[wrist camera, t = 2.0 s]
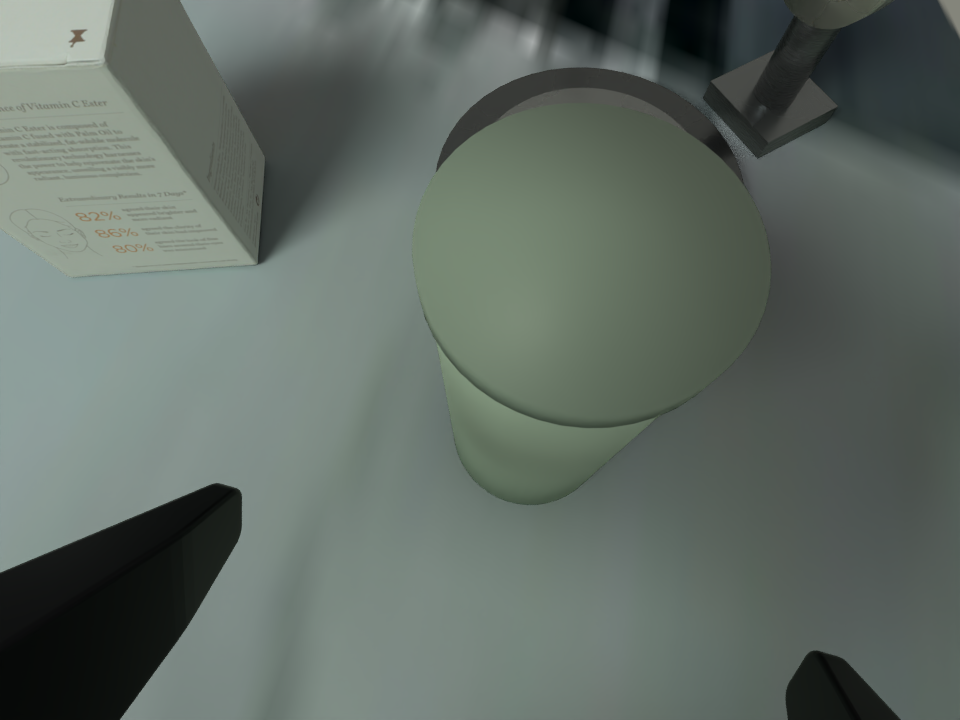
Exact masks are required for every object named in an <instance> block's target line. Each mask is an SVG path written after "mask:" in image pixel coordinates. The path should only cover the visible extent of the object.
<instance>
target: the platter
mask: <svg viewBox="0 0 960 720" xmlns="http://www.w3.org/2000/svg"><path fill="white" fill-rule="evenodd" d="M564 103H594V104H606V105H612V106H617V107H623V108H628V109H632V110H635V111H638V112H642V113H645V114H649V115H651V116H654V117H656V118H659V119H661V120H663V121H666V122H668V123H670V124H672V125H674V126H676V127H678V128H680V129H681V130H683V131H685V132H687V133H689V134H690V135H692V136H693V137H694V138H696V139H697V140H699V141H700V142H702V143H703V144H705V145H706V146H707V147H708V148H709V149H711V150H712V151H713V152H714V153H715V154H716V155H718V156H719V157H720V158H721V159H722V160H723V161H724V162H725V163H726V164H727V165H728V166H729V168H730V169H731V170H732V171H733V172H734V173H735V174H736V175H737V177H738V178H739V180H740V181H741V182H742V184H743V179H742V175H741V172H740V169H739V166H738V164H737V161H736V159H735V157H734V155H733V153H732V151H731V149H730V147H729V146H728V144H727V142H726V141H725V139H724V138H723V137H722V135H721V134H720V132H719V131H718V130H717V128H716V127H715V126H714V125H713V124H712V123H711V122H710V121H709V120H708V119H707V118H706V117H705V116H704V115H703V114H702V113H701V112H700V111H699V110H697V109H696V108H695V107H694V106H693V105H691V104H690V103H689V102H687V101H686V100H684V99H683V98H681V97H680V96H678V95H677V94H675V93H674V92H672V91H670V90H668V89H666V88H664V87H662V86H660V85H658V84H656V83H653V82H651V81H648V80H646V79H643V78H641V77H637V76H634V75H630V74H627V73H623V72H618V71H612V70H607V69H598V68H562V69H554V70H547V71H543V72H539V73H534V74H530V75H527V76H525V77H522V78H519V79H516V80H513V81H511V82H509V83H507V84H505V85H503V86H501V87H499V88H497V89H496V90H494V91H492V92H491V93H489V94H488V95H486V96H484V97H483V98H482V99H481V100H480V101H478V102H477V103H476V104H475V105H473V106H472V107H471V108H470V109H469V110H468V111H467V112H466V113H465V114H464V116H463V117H462V118H461V119H460V120H459V121H458V123H457V124H456V126H455V127H454V128H453V130H452V131H451V133H450V134H449V136H448V138H447V140H446V142H445V144H444V146H443V148H442V151H441V155H440V158H439V161H438V164H437V170H436V172H437V171H438V169H439V168H440V166H441V165H442V164H443V163H444V161H445V160H446V159H447V158H448V157H449V156H450V155H451V154H452V153H453V152H454V151H455V149H457V148H458V147H459V146H460V145H461V144H463V143H464V142H465V141H466V140H467V139H469V138H470V137H471V136H473V135H474V134H476V133H477V132H479V131H480V130H482V129H484V128H485V127H487V126H489V125H491V124H493V123H495V122H497V121H499V120H501V119H503V118H505V117H508V116H510V115H513V114H516V113H519V112H522V111H525V110H529V109H533V108H537V107H542V106H547V105H555V104H564ZM743 185H744V184H743Z"/></svg>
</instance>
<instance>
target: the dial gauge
mask: <svg viewBox="0 0 960 720" xmlns="http://www.w3.org/2000/svg"><path fill="white" fill-rule="evenodd" d="M893 1H894V0H784V2H785V4H786V5H787V7H788V8H789V10H790V11H791V12H792V13H793V14H794V17H793V19H792V21H791V23H790V24H789V26H788V28H787V30H786V31H785V33H784V35H783V37H782V39H781V40H780V42H779V44H778V46H777V47H776V49H775V50H774V51H772V52H770V53H768V54H766V55H764V56H762V57H759V58H757V59H755V60H753V61H751V62H749V63H747V64H745V65H743V66H741V67H739V68H737V69H735V70H733V71H731V72H729V73H727V74H724V75H722V76H720V77H718V78H716V79H714V80H712V81H711V82H710V84H709V86H708V88H707V90H706V93H705V95H704V97H703V99H704V100H705V101H706V102H707V103H708V104H709V105H710V106H711V107H712V109H713V110H714V111H715V112H716V113H717V114H718V115H719V116H720V117H721V118H722V120H723V121H724V122H725V123H726V124H727V125H728V126H729V127H730V128H731V129H732V131H733V132H734V133H735V134H736V135H737V136H738V137H739V138H740V139H741V140H742V141H743V143H744V144H745V145H746V146H747V147H748V148H749V149H750V150H751V151H752V152H753V154H754V155H755V156H756V157H757V158H759V157H761V156H763V155H765V154H767V153H769V152H771V151H773V150H775V149H776V148H778V147H780V146H782V145H784V144H786V143H788V142H790V141H792V140H794V139H796V138H797V137H799V136H801V135H803V134H805V133H807V132H809V131H811V130H813V129H815V128H817V127H818V126H820V125H822V124H824V123H826V122H827V120H828V119H829V118H830V116H831V115H832V114H833V112H834V111H835V110H836V108H837V107H838V106H837V105H836V104H835V103H834V102H833V101H832V100H831V99H830V98H829V97H828V96H827V95H826V94H825V93H824V92H823V91H822V90H821V89H820V88H819V87H818V86H817V85H816V84H815V83H814V82H813V81H812V80H811V79H810V78H809V77H810V75H811V74H812V72H813V71H814V69H815V68H816V66H817V65H818V63H819V62H820V60H821V59H822V57H823V56H824V54H825V53H826V51H827V50H828V48H829V47H830V45H831V44H832V42H833V40H834V39H835V37H836V36H837V34H838V33H839V31H840V30H841V28H842V27H845V26H847V25H850V24H852V23H854V22H856V21H858V20H860V19H862V18H864V17H866V16H869V15H871V14H873V13H875V12H877V11H879V10H881V9H882V8H884V7H886V6H887V5H889V4H890V3H891V2H893Z"/></svg>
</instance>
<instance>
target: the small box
mask: <svg viewBox="0 0 960 720" xmlns="http://www.w3.org/2000/svg"><path fill="white" fill-rule="evenodd" d="M264 168H265V157H264V155H263V153H262V151H261V149H260V147H259V146H258V144H257V142H256V140H255V138H254V136H253V134H252V133H251V131H250V129H249V127H248V125H247V123H246V121H245V120H244V118H243V116H242V114H241V112H240V110H239V109H238V107H237V105H236V103H235V101H234V100H233V98H232V96H231V94H230V92H229V90H228V88H227V87H226V85H225V83H224V81H223V79H222V77H221V76H220V74H219V72H218V70H217V68H216V66H215V65H214V63H213V61H212V59H211V57H210V55H209V54H208V52H207V50H206V48H205V46H204V45H203V43H202V41H201V39H200V37H199V35H198V34H197V32H196V30H195V28H194V26H193V24H192V23H191V21H190V19H189V17H188V15H187V13H186V11H185V10H184V8H183V6H182V4H181V2H180V0H0V229H1V230H3V231H4V232H5V233H7V234H8V235H10V236H11V237H12V238H14V239H15V240H17V241H18V242H20V243H21V244H22V245H24V246H25V247H27V248H28V249H30V250H31V251H33V252H34V253H35V254H37V255H38V256H40V257H41V258H43V259H44V260H45V261H47V262H48V263H50V264H51V265H52V266H54V267H55V268H57V269H58V270H60V271H61V272H63V273H64V274H65V275H66V276H68V277H83V276H97V275H112V274H126V273H141V272H155V271H170V270H187V269H200V268H214V267H228V266H243V265H256V264H258V251H259V237H260V224H261V210H262V196H263V182H264Z"/></svg>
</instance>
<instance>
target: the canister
mask: <svg viewBox="0 0 960 720" xmlns="http://www.w3.org/2000/svg"><path fill="white" fill-rule="evenodd" d="M412 258H413V265H414V273H415V279H416V284H417V288H418V293H419V298H420V302H421V305H422V309H423V312H424V316H425V319H426V321H427V323H428V325H429V328H430V330H431V332H432V334H433V337H434V338H435V340H436V342H437V348H438V353H439V359H440V364H441V369H442V375H443V380H444V386H445V391H446V396H447V402H448V407H449V413H450V418H451V424H452V429H453V434H454V440H455V445H456V449H457V452H458V455H459V457H460V460H461V462H462V464H463V466H464V467H465V469H466V471H467V472H468V473H469V475H470V476H471V477H472V478H473V480H474V481H475V482H476V483H478V484H479V485H480V486H481V487H482V488H483V489H485V490H486V491H487V492H489V493H491V494H492V495H494V496H496V497H498V498H500V499H503V500H505V501H508V502H512V503H516V504H525V505H538V504H544V503H549V502H552V501H556V500H558V499H561V498H563V497H565V496H567V495H568V494H570V493H572V492H573V491H575V490H576V489H577V488H578V487H579V486H581V485H582V484H583V483H584V482H585V481H586V480H587V479H588V478H590V477H591V476H592V475H593V474H594V473H595V472H596V471H597V470H599V469H600V468H601V467H602V466H603V465H604V464H605V463H607V462H608V461H609V460H610V459H611V458H612V457H613V456H614V455H616V454H617V453H618V452H619V451H620V450H621V449H622V448H623V447H625V446H626V445H627V444H628V443H629V442H630V441H631V440H632V439H634V438H635V437H636V436H637V435H638V434H639V433H640V432H641V431H643V430H644V429H645V428H646V427H647V426H648V425H649V424H651V423H652V422H653V421H654V420H655V419H656V418H657V417H658V416H660V415H662V414H664V413H667V412H669V411H671V410H673V409H676V408H677V407H679V406H680V405H682V404H684V403H685V402H687V401H688V400H690V399H691V398H693V397H695V396H696V395H697V394H698V393H699V392H701V391H702V390H703V389H704V388H706V387H707V386H708V385H709V384H710V383H712V382H713V381H714V380H715V379H716V378H717V377H719V376H720V375H721V374H722V373H723V372H724V371H726V370H727V369H728V368H729V367H730V366H731V365H732V364H733V363H734V362H735V360H736V359H737V358H738V357H739V356H740V355H741V353H742V352H743V351H744V350H745V349H746V347H747V345H748V344H749V342H750V340H751V339H752V337H753V336H754V334H755V332H756V331H757V328H758V326H759V324H760V321H761V319H762V316H763V314H764V312H765V308H766V304H767V300H768V295H769V291H770V280H771V259H770V248H769V243H768V239H767V235H766V230H765V227H764V224H763V222H762V219H761V217H760V214H759V211H758V209H757V207H756V205H755V203H754V202H753V200H752V198H751V196H750V194H749V192H748V191H747V189H746V188H745V187H744V185H743V184H742V182H741V181H740V180H739V178H738V177H737V175H736V174H735V173H734V172H733V171H732V170H731V169H730V168H729V166H728V165H727V164H726V163H725V162H724V161H723V160H722V159H721V158H720V157H719V156H718V155H716V154H715V153H714V152H713V151H712V150H711V149H709V148H708V147H707V146H706V145H705V144H703V143H702V142H700V141H699V140H697V139H696V138H694V137H693V136H692V135H690V134H689V133H687V132H685V131H683V130H681V129H680V128H678V127H676V126H674V125H672V124H670V123H668V122H666V121H663V120H661V119H659V118H656V117H654V116H651V115H649V114H645V113H642V112H638V111H635V110H632V109H628V108H623V107H617V106H612V105H606V104H594V103H564V104H555V105H547V106H542V107H537V108H533V109H529V110H525V111H522V112H519V113H516V114H513V115H510V116H508V117H505V118H503V119H501V120H499V121H497V122H495V123H493V124H491V125H489V126H487V127H485V128H484V129H482V130H480V131H479V132H477V133H476V134H474V135H473V136H471V137H470V138H469V139H467V140H466V141H465V142H464V143H463V144H461V145H460V146H459V147H458V148H457V149H455V151H454V152H453V153H452V154H451V155H450V156H449V157H448V158H447V159H446V160H445V161H444V163H443V164H442V165H441V166H440V168H439V169H438V171H437V172H436V174H435V175H434V176H433V178H432V179H431V181H430V183H429V185H428V187H427V189H426V191H425V193H424V195H423V197H422V200H421V203H420V206H419V209H418V212H417V215H416V219H415V225H414V231H413V245H412Z"/></svg>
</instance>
